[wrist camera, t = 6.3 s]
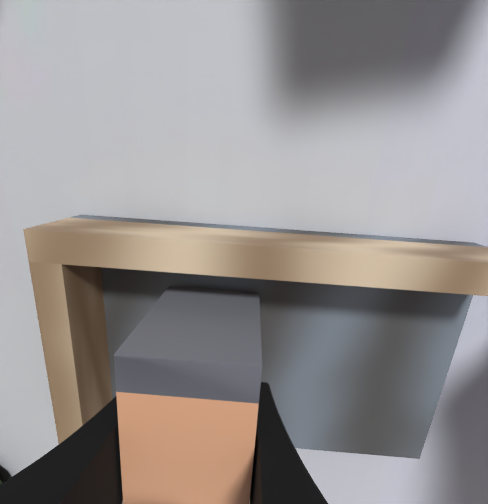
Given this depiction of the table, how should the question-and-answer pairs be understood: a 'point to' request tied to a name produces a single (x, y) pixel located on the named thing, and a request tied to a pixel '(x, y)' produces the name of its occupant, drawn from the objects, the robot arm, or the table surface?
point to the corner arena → (267, 318)
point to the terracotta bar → (190, 398)
